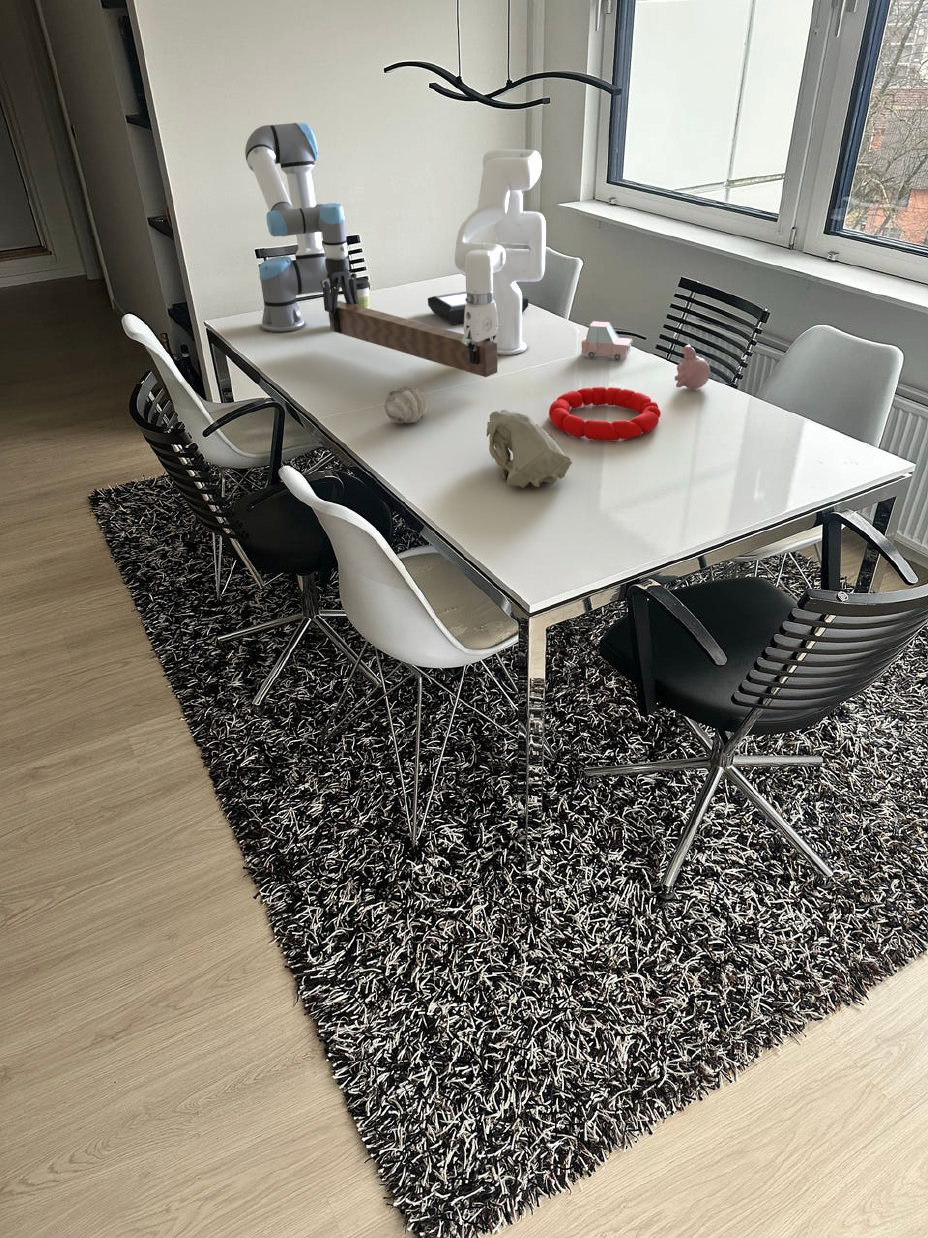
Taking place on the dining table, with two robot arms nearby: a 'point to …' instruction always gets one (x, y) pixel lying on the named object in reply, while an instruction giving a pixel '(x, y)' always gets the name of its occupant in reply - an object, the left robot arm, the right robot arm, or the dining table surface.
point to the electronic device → (455, 306)
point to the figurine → (692, 370)
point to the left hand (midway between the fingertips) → (343, 329)
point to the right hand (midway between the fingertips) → (481, 359)
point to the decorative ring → (604, 428)
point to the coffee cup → (362, 292)
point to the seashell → (405, 405)
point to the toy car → (605, 342)
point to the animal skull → (525, 450)
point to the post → (415, 338)
